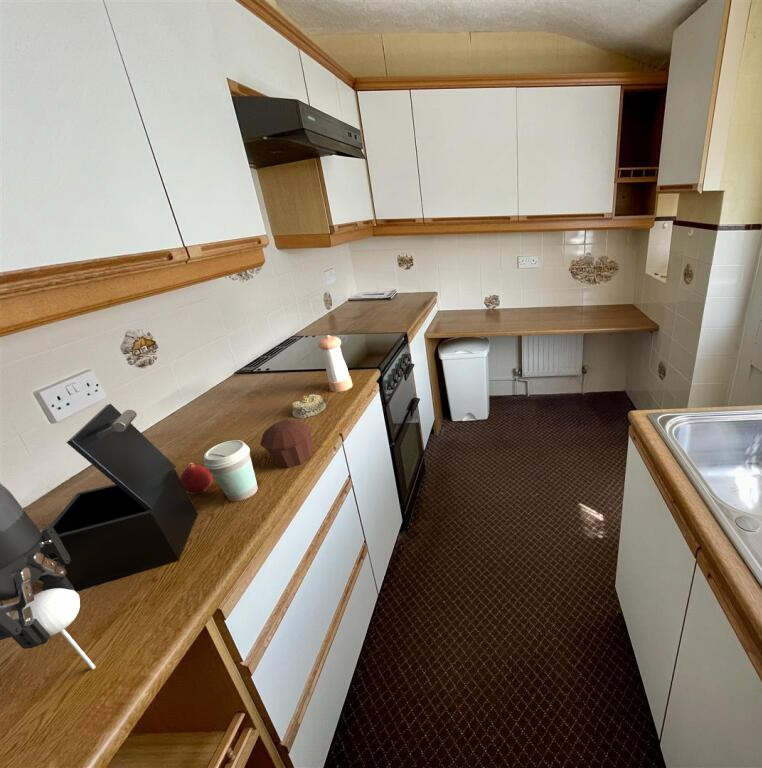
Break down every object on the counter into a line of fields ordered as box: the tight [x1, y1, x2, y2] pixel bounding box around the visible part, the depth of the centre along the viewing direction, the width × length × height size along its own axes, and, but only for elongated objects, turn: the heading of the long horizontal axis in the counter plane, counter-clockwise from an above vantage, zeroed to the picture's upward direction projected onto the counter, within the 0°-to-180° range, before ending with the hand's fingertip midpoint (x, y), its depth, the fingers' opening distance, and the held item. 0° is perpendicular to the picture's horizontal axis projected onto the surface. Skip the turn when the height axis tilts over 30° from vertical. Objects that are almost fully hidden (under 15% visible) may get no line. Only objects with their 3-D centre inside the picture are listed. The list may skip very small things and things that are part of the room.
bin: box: [47, 469, 199, 592], centre depth 77 cm, size 16×14×12 cm
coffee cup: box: [203, 439, 259, 502], centre depth 90 cm, size 8×8×12 cm
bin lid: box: [66, 403, 177, 511], centre depth 73 cm, size 16×14×5 cm
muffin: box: [259, 419, 314, 469], centre depth 102 cm, size 12×11×10 cm
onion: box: [180, 462, 214, 494], centre depth 92 cm, size 6×6×8 cm
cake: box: [291, 393, 327, 419], centre depth 127 cm, size 10×10×5 cm
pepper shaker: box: [318, 334, 353, 393], centre depth 138 cm, size 7×7×19 cm
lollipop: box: [12, 588, 97, 671], centre depth 56 cm, size 6×6×15 cm
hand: (53, 620), depth 54 cm, fingers closed on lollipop, 6 cm apart
